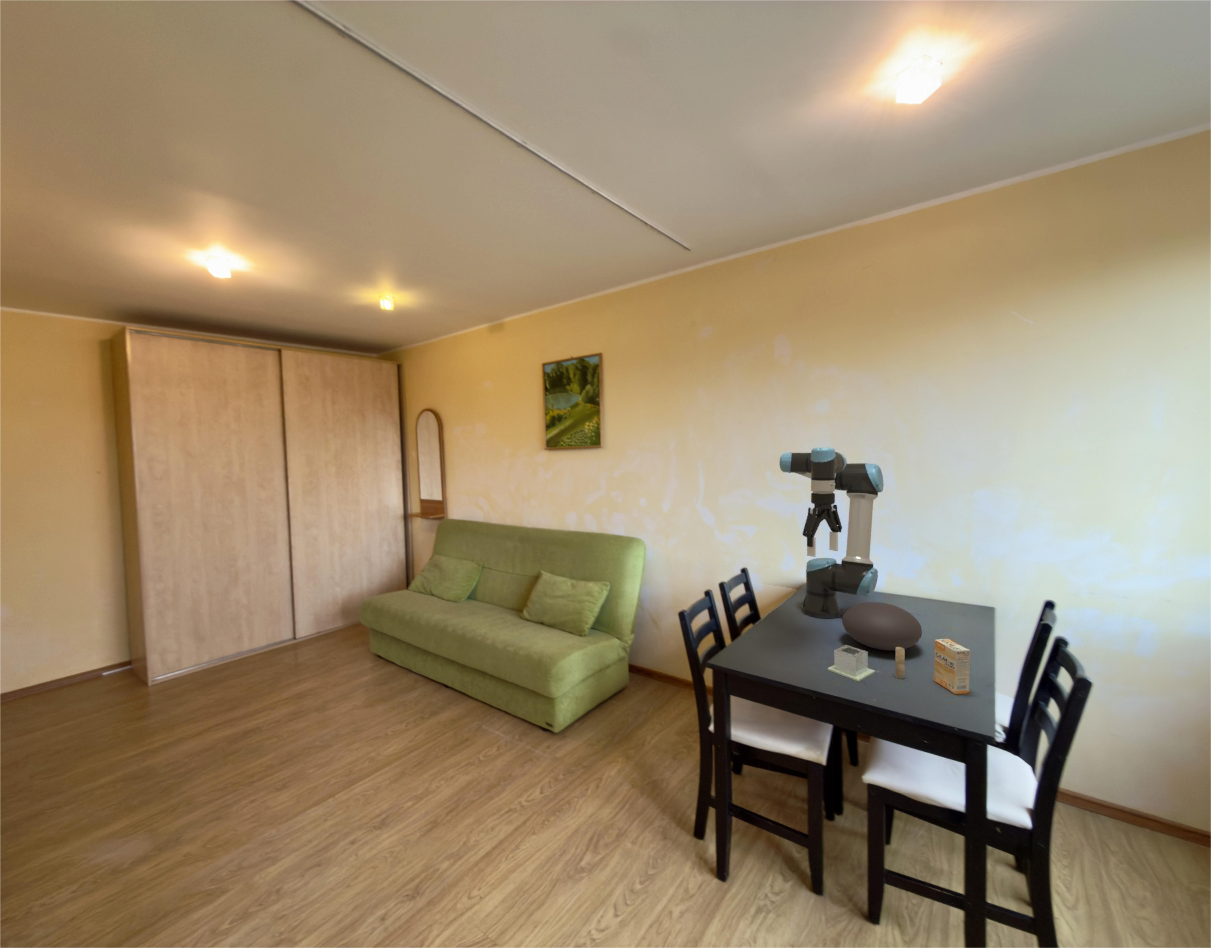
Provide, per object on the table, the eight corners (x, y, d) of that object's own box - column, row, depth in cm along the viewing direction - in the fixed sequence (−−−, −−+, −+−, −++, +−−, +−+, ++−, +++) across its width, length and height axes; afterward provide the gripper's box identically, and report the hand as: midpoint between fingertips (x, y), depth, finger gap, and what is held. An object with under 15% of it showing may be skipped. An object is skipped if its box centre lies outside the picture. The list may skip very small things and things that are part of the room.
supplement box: (932, 681, 148) (933, 639, 148) (947, 680, 149) (948, 638, 148) (954, 694, 140) (955, 650, 139) (970, 693, 141) (971, 649, 140)
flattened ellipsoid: (873, 664, 160) (874, 619, 159) (827, 635, 185) (827, 596, 184) (939, 657, 164) (940, 613, 163) (886, 629, 189) (886, 591, 188)
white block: (834, 668, 157) (834, 650, 156) (846, 662, 161) (846, 644, 160) (855, 676, 151) (855, 657, 151) (867, 670, 155) (867, 651, 155)
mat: (827, 669, 157) (827, 668, 157) (844, 661, 163) (844, 659, 163) (858, 681, 149) (858, 679, 149) (875, 672, 155) (875, 670, 155)
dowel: (893, 676, 152) (894, 648, 151) (897, 674, 153) (897, 646, 153) (902, 679, 150) (902, 650, 149) (905, 677, 151) (906, 648, 151)
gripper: (811, 495, 158) (811, 560, 159) (852, 490, 172) (852, 549, 173) (791, 494, 164) (791, 556, 165) (832, 489, 178) (832, 546, 180)
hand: (822, 553), depth 169 cm, fingers open, 13 cm apart
